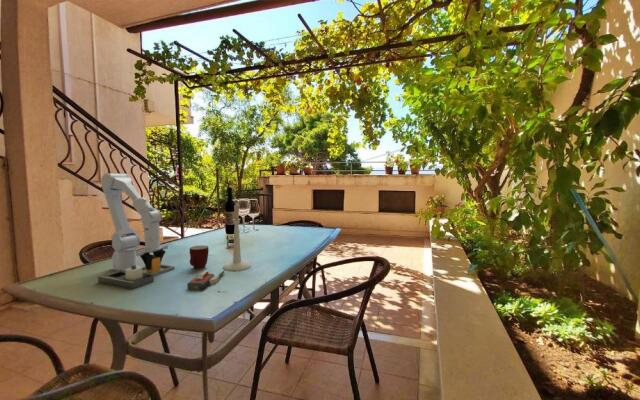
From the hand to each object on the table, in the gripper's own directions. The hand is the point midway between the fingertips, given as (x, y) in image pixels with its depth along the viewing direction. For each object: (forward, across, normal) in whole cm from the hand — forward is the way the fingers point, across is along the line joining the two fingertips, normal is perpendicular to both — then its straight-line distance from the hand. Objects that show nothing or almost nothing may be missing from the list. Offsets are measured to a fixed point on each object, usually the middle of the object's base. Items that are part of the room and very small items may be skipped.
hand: (153, 268), depth 132 cm
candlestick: (+2, +21, -29) cm, 36 cm away
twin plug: (+2, -14, -6) cm, 16 cm away
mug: (+2, +11, -15) cm, 19 cm away
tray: (+2, 0, 0) cm, 2 cm away
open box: (+2, -14, -2) cm, 14 cm away
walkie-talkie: (+3, 0, -30) cm, 30 cm away
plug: (+1, 0, 0) cm, 1 cm away
